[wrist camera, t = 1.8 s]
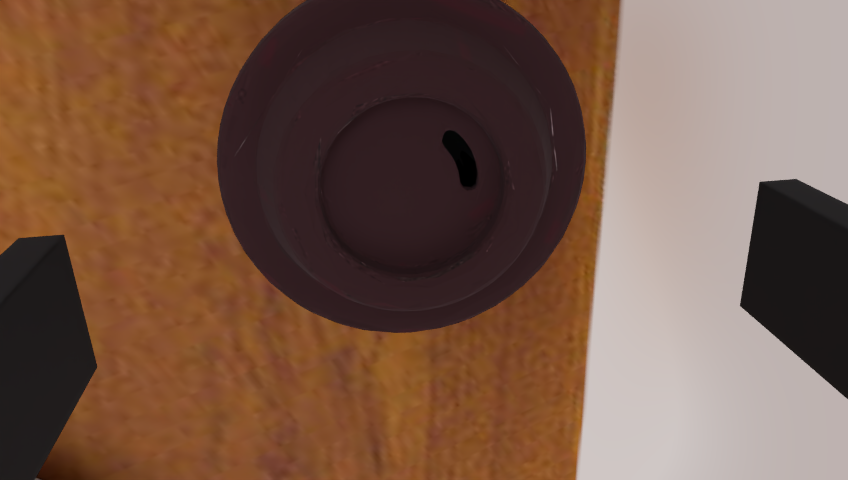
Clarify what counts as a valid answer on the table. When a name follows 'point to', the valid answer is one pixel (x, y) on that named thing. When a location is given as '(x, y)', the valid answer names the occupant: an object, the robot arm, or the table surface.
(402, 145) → the coffee cup
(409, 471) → the table surface
